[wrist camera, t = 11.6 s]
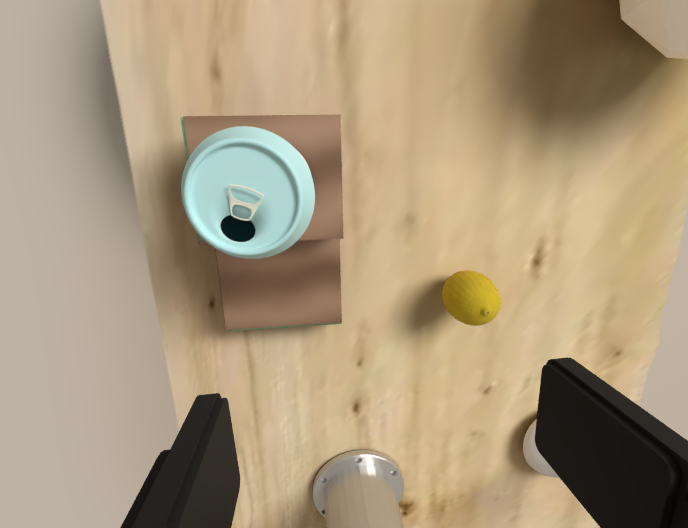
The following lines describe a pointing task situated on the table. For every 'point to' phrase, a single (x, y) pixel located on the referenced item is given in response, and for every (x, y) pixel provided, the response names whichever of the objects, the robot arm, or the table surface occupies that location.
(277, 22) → the table surface
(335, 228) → the stand
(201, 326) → the table surface
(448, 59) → the table surface
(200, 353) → the table surface
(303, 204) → the can
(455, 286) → the lemon
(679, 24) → the ball
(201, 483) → the robot arm
